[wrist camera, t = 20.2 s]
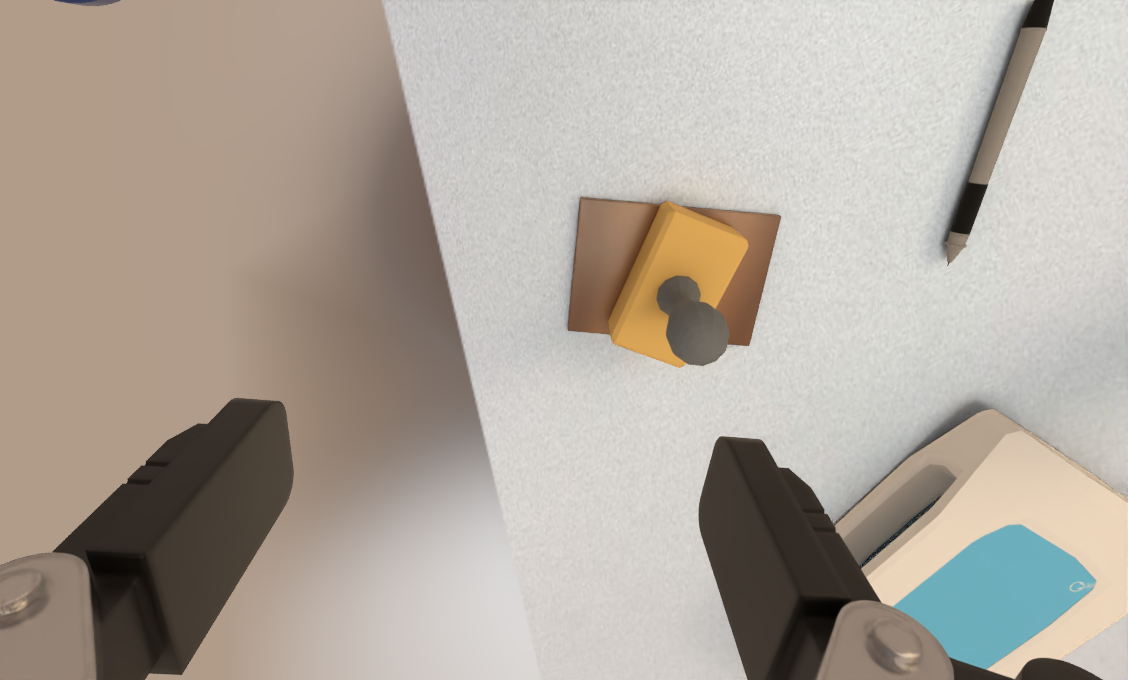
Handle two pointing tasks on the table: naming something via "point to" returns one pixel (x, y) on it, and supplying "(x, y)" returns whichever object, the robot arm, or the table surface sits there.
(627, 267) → the brown leather mat
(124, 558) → the robot arm
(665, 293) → the rubber stamp
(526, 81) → the table surface
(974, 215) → the pen
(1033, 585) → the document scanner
